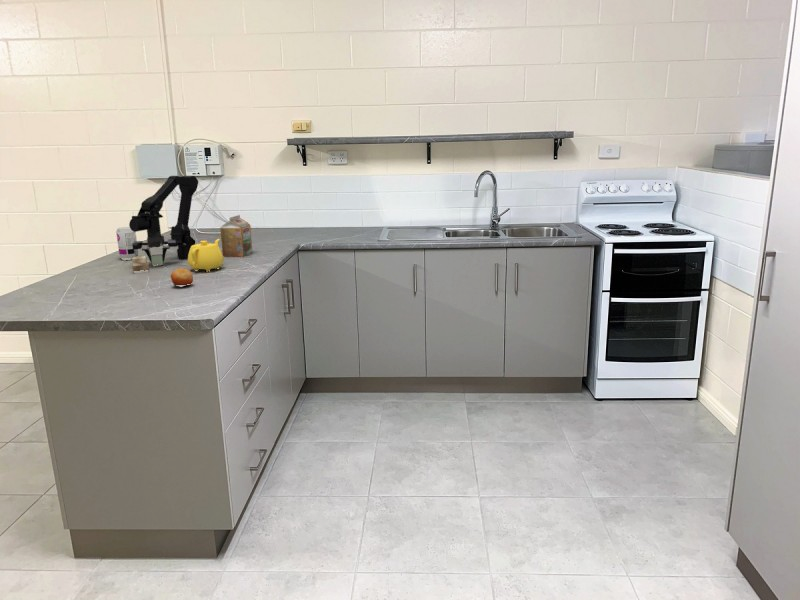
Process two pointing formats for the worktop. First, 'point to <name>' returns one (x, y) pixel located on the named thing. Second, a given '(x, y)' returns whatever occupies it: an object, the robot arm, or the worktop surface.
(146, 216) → the robot arm
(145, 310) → the worktop surface
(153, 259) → the sage cube
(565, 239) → the worktop surface
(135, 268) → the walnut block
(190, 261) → the teapot
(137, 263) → the maple block
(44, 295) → the worktop surface
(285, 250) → the worktop surface
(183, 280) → the fruit
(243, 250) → the milk carton
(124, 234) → the supplement can
